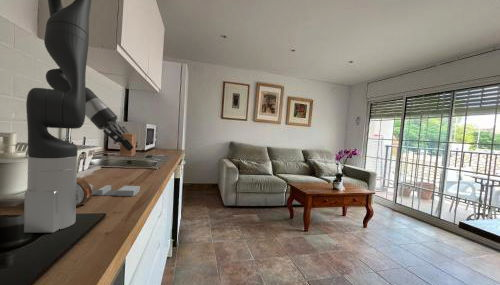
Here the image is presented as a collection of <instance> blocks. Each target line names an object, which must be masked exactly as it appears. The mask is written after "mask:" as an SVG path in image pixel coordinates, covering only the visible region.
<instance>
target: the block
mask: <svg viewBox="0 0 500 285" xmlns="http://www.w3.org/2000/svg"><path fill="white" fill-rule="evenodd" d="M123 136H124V137H125V138H126V140H128V141H129V143H130V144H131V145H132V146H133V149H131V150H130V151H128V150H127V149H126V148H125V147H124V146H123V145H122V143H121V144H120V143H119V144H120V146H119V156H125V157H132V156H135V155H136V149H137V148H135V147H136V144H137V133H129V134H128V133H123Z"/></svg>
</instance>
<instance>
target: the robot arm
mask: <svg viewBox="0 0 500 285" xmlns="http://www.w3.org/2000/svg"><path fill="white" fill-rule="evenodd" d="M47 4H48V9H49V18H48V20H47V21H46V24H45V32H44V38H43V42H44V46H45V49H46V51H47V53H48V54H49V56H50V57H51V59H52V60H53V61H54V63H55V64H56V65H57V67H58V68H52V69H49V70H48V71H46V73H45V80H46V82H47V84H48V85H49V86H50V88H43V87H33V88H30V90H29V91H28V92H27V96H26V104H25V106H26V107H25V108H26V109H25V111H26V124H27V181H26V182H27V189H26V190H25V191H24V202H23V204H24V210H23V212H24V213H23V214H24V215H23V233H56V232H58V231H60V230H62V229H66V228H68V227H71V226H72V225H74V224H75V223H76V219H77V218H76V215H77V213H76V212H77V206H76V183H77V178H78V176H77V175H78V174H77V173H78V145H76V144H75V143H72V142H70V141H65V140H63V139H60V138H58V137H55V136H54V135H52V134H51V132H49V130H48V128H50V129H69V130H73V129H74V130H76V129H81V128H82V127H83V125H84V124H85V121H86V120H85V119H86V118H88V120H90V122H92V123H93V124H94V126H95V127H96V128H98V130H100V131H101V130H103V133H105V135H107V136H108V137H109V138H111V139H112V141H114V142H115V143H118V144H121V143H122V145H123V146H124V147H125V148H126V149H127V150H128V151H130V150H131V149H133V146H132V145H131V144H130V143H129V141H128V140H126V138H125V137H124V136H123V133H128V134H130V132H129V131H128V130H127V129H126V127H125V126H122V125H121V124H119V123H117V120H118V115H117V114H115V113H114V111H113V110H112V109H111V108H110V107H109V106H108V105H107V104H106V103H105V102H104V101H103V100H102V99H100V98H99V97H98V96H97V95H96V94H95V93H94V91H92V89H90V88H89V87H86V70H87V62H88V53H89V40H90V37H89V36H90V12H91V7H92V6H91V5H92V0H74V1H73V2H72V3H70V4H68V5H67V6H65V7H63V3H62V0H47ZM138 146H139V145H138V144H137V143H136V147H135V148H136V149H137V148H138ZM59 229H60V230H59Z"/></svg>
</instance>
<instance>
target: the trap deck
mask: <svg viewBox="0 0 500 285" xmlns="http://www.w3.org/2000/svg"><path fill="white" fill-rule="evenodd" d="M89 185H90V186H91V189H92V196H101V197H103V196H105V197H107V196H109V197H113V196H114V197H134V196H136V195H137V194H138V193H139V192H140V189H141V186H140V185H124V186H122V187H121V188H119V189H112V185H111V184H110V185H109V184H107V185H105V186H103V187H101V188H99V189H93V187H94V185H93V184H89Z"/></svg>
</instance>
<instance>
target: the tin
mask: <svg viewBox="0 0 500 285" xmlns="http://www.w3.org/2000/svg"><path fill="white" fill-rule="evenodd" d="M90 185H91V184H90V183H89V182H88V181H86V180H85V179H83V178H79V177H77V183H76V207H79V206H82V205H85V204H87V203H88V202H89V201H90V200H91V199H92V196H93V195H92V189H91V186H90Z"/></svg>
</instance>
